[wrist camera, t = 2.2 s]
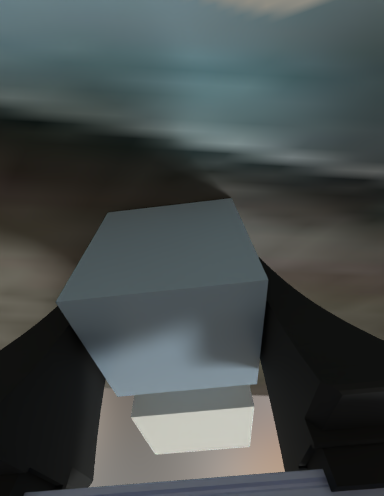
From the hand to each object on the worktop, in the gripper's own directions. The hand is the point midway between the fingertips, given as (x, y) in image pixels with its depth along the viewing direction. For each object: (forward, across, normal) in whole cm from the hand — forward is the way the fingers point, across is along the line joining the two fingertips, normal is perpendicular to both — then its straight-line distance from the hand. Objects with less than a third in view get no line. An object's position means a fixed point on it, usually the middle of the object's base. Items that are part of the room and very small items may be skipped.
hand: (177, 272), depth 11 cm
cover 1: (+1, 0, 0) cm, 1 cm away
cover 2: (+1, 0, +8) cm, 8 cm away
